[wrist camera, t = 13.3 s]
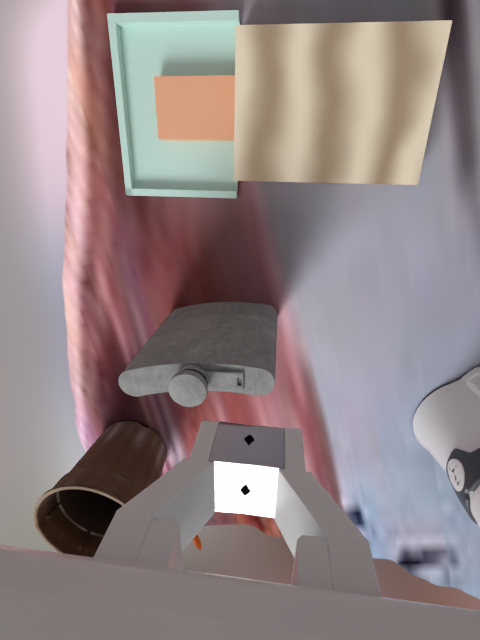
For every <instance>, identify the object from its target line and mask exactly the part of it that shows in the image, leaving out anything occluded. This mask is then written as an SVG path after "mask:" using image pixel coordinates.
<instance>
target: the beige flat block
mask: <svg viewBox="0 0 480 640" xmlns="http://www.w3.org/2000/svg"><path fill="white" fill-rule="evenodd" d="M451 24H452V20H440V21H396V22H353V23H309V24H265V25H236V28H235V116H234V181H265V182H310V183H354V184H399V185H418V182H419V177H420V173H421V168H422V163H423V158H424V153H425V149H426V144H427V139H428V134H429V130H430V125H431V120H432V115H433V110H434V106H435V101H436V96H437V91H438V87H439V82H440V77H441V72H442V67H443V63H444V58H445V53H446V48H447V44H448V39H449V34H450V29H451Z"/></svg>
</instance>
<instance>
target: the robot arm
mask: <svg viewBox="0 0 480 640" xmlns="http://www.w3.org/2000/svg"><path fill="white" fill-rule="evenodd" d="M413 430H414V434H415V436H416V438H417V440H418V441H419V442H420V444H421V445H422V446H423V447H425V448H426V449H427V450H428V451H429V452H430V454H431V455H432V456H433V457H434V458H435V459H436V460H437V462H438V463H439V464H440V465H441V467H442V468H443V469H444V471H445V472H446V473H447V475H448V477H449V480H450V482H451V484H452V487H453V489H454V491H455V493H456V495H457V496H458V498H459V500H460V502H461V503H462V505H463V507H464V508H465V510H466V512H467V513H468V515H469V517H470V518H471V519H472V521H474V522H475V523H476V524H477V525H478V526H479V527H480V367H476V368H474V369H472V370H471V371H469V372H468V373H467V374H465V375H464V376H463V377H462V378H461V379H459V380H458V381H456V382H453V383H451V384H448V385H446V386H443V387H441V388H439V389H438V390H436V391H434V392H433V393H431V394H430V395H429V396H428V397H427V398H425V400H424V401H423V402H422V403H421V404H420V406H419V407H418V409H417V411H416V413H415V415H414V419H413ZM215 511H219V512H230V513H241V514H249V515H256V516H263V517H269V518H275V522H276V524H277V525H278V527H279V529H280V531H281V533H282V535H283V537H284V539H285V540H286V543H287V545H288V546H289V548H290V550H291V552H292V554H293V556H294V558H295V561H294V568H293V575H292V583H291V585H290V584H282V583H275V582H268V581H260V580H252V579H246V578H238V577H231V576H224V575H217V574H209V573H202V572H195V571H187V570H183V567H182V551H183V550H184V549H185V548H186V546H187V545H188V544H189V543H190V542H191V541H192V539H193V538H194V537H195V536H196V535H197V534H198V532H199V531H200V530H201V528H202V527H203V526H204V525H205V524H206V523H207V522H208V520H209V519H210V518H211V517H212V516H213V514H214V513H215ZM0 640H480V611H478V610H471V609H464V608H457V607H449V606H442V605H435V604H427V603H421V602H413V601H406V600H399V599H391V598H383V597H382V596H381V592H380V588H379V583H378V579H377V575H376V571H375V567H374V562H373V558H372V554H371V549H370V545H369V542H368V540H367V539H366V538H365V537H364V536H363V534H362V533H361V532H360V531H359V530H358V528H357V527H356V526H355V525H354V524H353V522H352V521H351V520H350V519H349V518H348V517H347V515H346V514H345V513H344V512H343V511H342V509H341V508H340V507H339V506H338V505H337V503H336V502H335V501H334V500H333V499H332V497H331V496H330V495H329V494H328V493H327V491H326V490H325V489H324V488H323V487H322V485H321V484H320V483H319V482H318V481H317V479H316V478H315V477H314V476H313V475H312V474H311V472H305V463H304V450H303V438H302V430H301V429H296V428H278V427H267V426H255V425H246V424H237V423H229V422H218V421H209V420H203V421H202V423H201V425H200V428H199V431H198V434H197V437H196V440H195V443H194V446H193V449H192V452H191V455H190V458H189V459H184V460H182V461H181V462H180V463H178V464H177V465H176V466H174V467H173V468H172V469H170V470H169V471H168V472H167V473H165V474H164V475H163V476H161V477H160V478H159V479H157V480H156V481H155V482H153V483H152V484H151V485H150V486H148V487H147V488H146V489H144V490H143V491H142V492H140V493H139V494H138V495H136V496H135V497H134V498H132V499H131V500H130V501H129V502H127V503H126V504H125V505H123V506H122V507H121V508H119V509H118V510H117V511H116V513H115V515H114V517H113V519H112V521H111V523H110V525H109V527H108V529H107V531H106V533H105V535H104V537H103V539H102V541H101V543H100V545H99V547H98V549H97V551H96V553H95V555H94V557H87V556H79V555H72V554H65V553H58V552H50V551H43V550H36V549H28V548H21V547H14V546H7V545H0Z"/></svg>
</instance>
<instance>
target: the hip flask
mask: <svg viewBox="0 0 480 640" xmlns="http://www.w3.org/2000/svg"><path fill="white" fill-rule="evenodd" d="M276 338H277V311H276V309H275V308H274V307H273V306H271V305H267V304H261V303H252V302H212V303H202V304H195V305H190V306H185V307H181V308H177V309H174V310H173V311H172V312H171V313H170V315H169V316H168V317H167V318H166V319H165V321H164V322H163V323H162V324H161V326H160V327H159V328H158V329H157V330H156V332H155V333H154V334H153V335H152V337H151V338H150V339H149V340H148V341H147V343H146V344H145V345H144V346H143V348H142V349H141V350H140V351H139V352H138V354H137V355H136V356H135V357H134V359H133V360H132V361H131V362H130V363H129V365H128V366H127V367H126V368H125V370H124V371H123V372H122V373H121V374H120V376H119V379H118V382H119V386H120V388H121V389H122V390H123V391H124V392H125V393H126V394H128V395H130V396H134V397H138V396H144V395H149V394H155V393H163V392H169V394H170V396H171V398H172V399H173V400H174V401H175V402H176V403H177V404H180V405H182V406H185V407H195V406H198V405H199V404H201V403H202V402H203V401H204V399H205V397H206V394H207V391H223V392H235V393H243V394H249V395H255V396H263V395H266V394H268V393H270V392H271V391H272V390H273V388H274V386H275V367H276Z"/></svg>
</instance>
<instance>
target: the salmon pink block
mask: <svg viewBox="0 0 480 640" xmlns="http://www.w3.org/2000/svg"><path fill="white" fill-rule="evenodd" d="M154 86H155V100H156V113H157V127H158V139H160V140H164V141H234V116H235V75H210V76H154Z"/></svg>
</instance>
